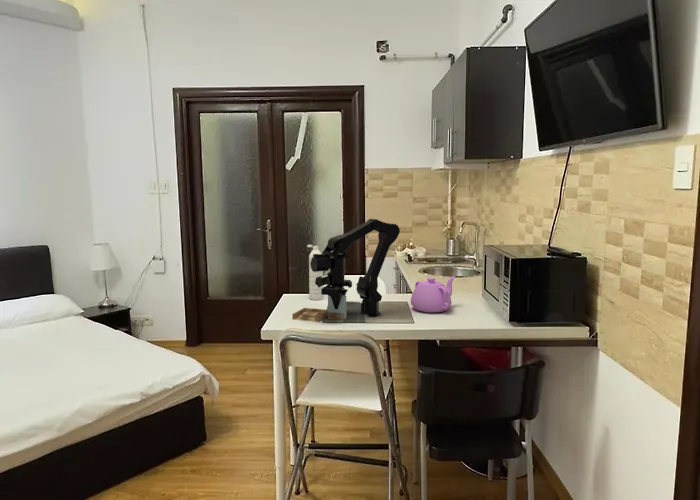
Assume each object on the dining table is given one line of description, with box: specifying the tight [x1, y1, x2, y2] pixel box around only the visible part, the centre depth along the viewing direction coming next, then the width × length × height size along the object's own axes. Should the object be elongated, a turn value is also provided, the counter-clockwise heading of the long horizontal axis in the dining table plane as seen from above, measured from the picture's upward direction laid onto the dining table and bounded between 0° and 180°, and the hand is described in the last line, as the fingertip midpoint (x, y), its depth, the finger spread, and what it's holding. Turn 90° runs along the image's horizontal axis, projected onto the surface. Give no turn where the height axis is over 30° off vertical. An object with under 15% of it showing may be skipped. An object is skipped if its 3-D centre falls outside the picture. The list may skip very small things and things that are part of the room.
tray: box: [292, 307, 328, 323], centre depth 208 cm, size 11×11×3 cm
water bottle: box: [306, 244, 324, 301], centre depth 244 cm, size 9×6×25 cm
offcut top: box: [301, 312, 319, 318], centre depth 206 cm, size 6×4×1 cm
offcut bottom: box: [299, 316, 316, 320], centre depth 206 cm, size 7×5×1 cm
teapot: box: [410, 275, 456, 314], centre depth 224 cm, size 22×22×14 cm
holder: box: [327, 310, 348, 321], centre depth 207 cm, size 6×5×3 cm
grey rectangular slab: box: [327, 295, 347, 320], centre depth 207 cm, size 7×2×9 cm, turn 70°
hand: (337, 308), depth 207 cm, fingers closed on grey rectangular slab, 2 cm apart
